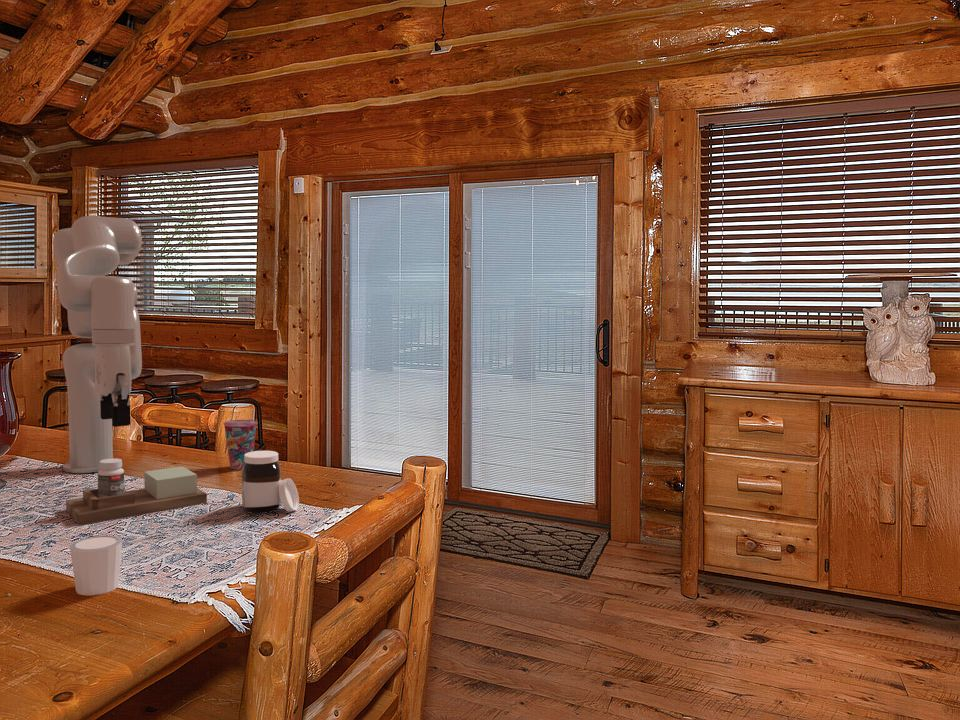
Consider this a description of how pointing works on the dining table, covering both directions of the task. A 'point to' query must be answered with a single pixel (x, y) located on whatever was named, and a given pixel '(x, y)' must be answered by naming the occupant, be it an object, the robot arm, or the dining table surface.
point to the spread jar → (266, 484)
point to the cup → (239, 440)
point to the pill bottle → (110, 478)
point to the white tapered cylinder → (96, 564)
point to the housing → (125, 504)
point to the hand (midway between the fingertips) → (115, 422)
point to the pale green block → (170, 482)
